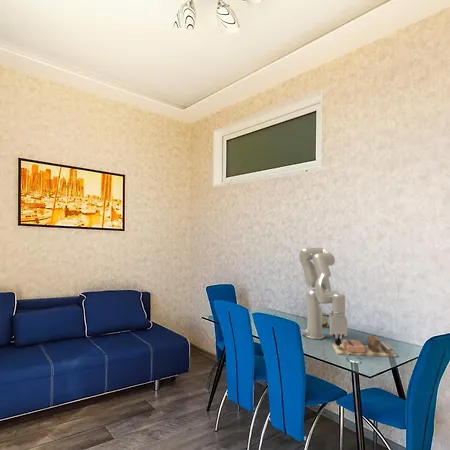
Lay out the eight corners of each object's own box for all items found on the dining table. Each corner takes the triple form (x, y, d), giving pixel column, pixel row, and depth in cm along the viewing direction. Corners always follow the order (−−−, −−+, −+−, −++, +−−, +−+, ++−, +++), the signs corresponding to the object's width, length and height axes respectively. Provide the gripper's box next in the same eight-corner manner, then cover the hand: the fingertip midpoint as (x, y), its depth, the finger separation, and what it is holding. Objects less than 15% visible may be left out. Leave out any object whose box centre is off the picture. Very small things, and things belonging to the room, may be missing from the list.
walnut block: (372, 352, 200) (372, 340, 200) (367, 347, 208) (368, 335, 208) (379, 352, 199) (379, 340, 199) (374, 347, 207) (374, 336, 207)
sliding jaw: (347, 351, 199) (347, 344, 199) (342, 344, 211) (342, 337, 211) (365, 352, 198) (365, 345, 198) (359, 345, 210) (359, 338, 210)
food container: (327, 325, 256) (327, 312, 256) (329, 328, 250) (329, 314, 250) (310, 324, 257) (311, 311, 257) (312, 327, 251) (312, 313, 251)
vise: (337, 354, 199) (337, 347, 199) (332, 345, 213) (332, 339, 213) (396, 357, 196) (396, 349, 196) (387, 348, 210) (387, 341, 210)
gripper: (326, 315, 202) (326, 346, 202) (352, 316, 201) (352, 347, 201) (324, 312, 210) (324, 342, 210) (349, 313, 208) (349, 343, 208)
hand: (337, 345), depth 205 cm, fingers closed
